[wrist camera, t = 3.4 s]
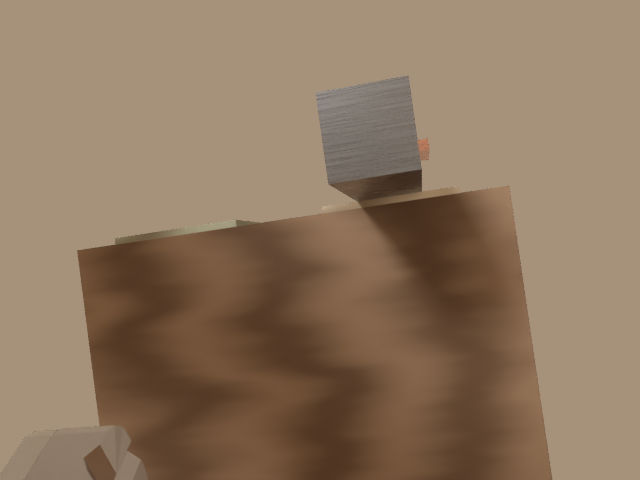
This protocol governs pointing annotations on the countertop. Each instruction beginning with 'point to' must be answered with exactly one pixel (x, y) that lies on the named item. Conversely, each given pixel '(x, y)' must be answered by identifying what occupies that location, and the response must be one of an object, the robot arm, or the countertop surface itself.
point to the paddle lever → (371, 139)
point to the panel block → (323, 344)
